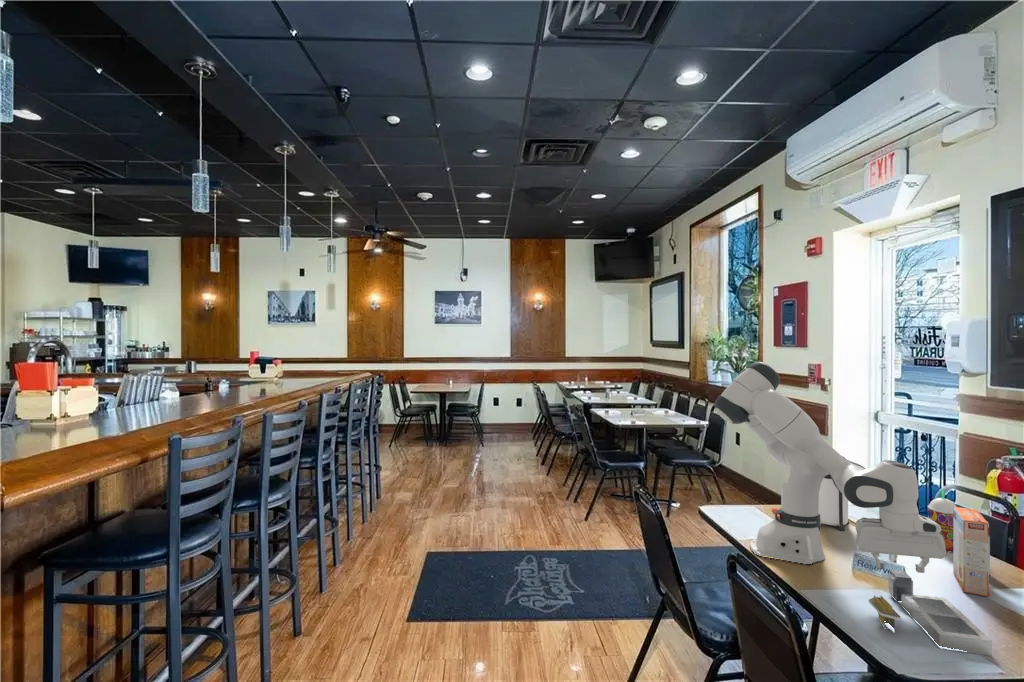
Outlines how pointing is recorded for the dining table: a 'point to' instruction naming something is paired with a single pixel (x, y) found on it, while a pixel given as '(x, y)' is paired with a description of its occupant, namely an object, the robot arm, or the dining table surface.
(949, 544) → the smoothie
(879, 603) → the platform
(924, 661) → the dining table surface
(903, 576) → the grey rectangular block
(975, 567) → the cracker box
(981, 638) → the grey rectangular tray
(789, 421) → the robot arm
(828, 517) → the coffee press
